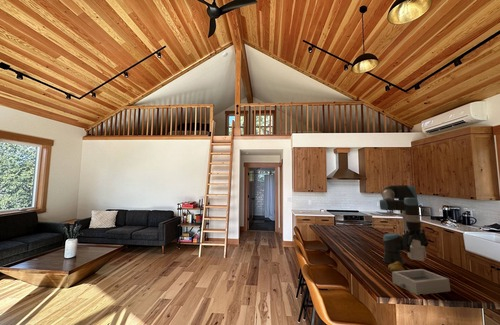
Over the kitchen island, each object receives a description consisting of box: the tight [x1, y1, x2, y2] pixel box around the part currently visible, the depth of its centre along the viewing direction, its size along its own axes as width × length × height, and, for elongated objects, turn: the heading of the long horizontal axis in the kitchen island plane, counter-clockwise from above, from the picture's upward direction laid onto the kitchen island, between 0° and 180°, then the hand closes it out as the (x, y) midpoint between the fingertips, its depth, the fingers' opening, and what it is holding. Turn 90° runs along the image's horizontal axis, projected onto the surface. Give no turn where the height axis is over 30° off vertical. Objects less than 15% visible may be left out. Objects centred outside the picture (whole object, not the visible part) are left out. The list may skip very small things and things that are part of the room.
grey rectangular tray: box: [391, 268, 451, 296], centre depth 135 cm, size 17×26×7 cm, turn 100°
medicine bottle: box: [409, 239, 425, 262], centre depth 138 cm, size 7×7×12 cm
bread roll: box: [387, 261, 406, 274], centre depth 156 cm, size 13×10×8 cm
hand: (417, 256), depth 137 cm, fingers closed on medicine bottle, 10 cm apart
